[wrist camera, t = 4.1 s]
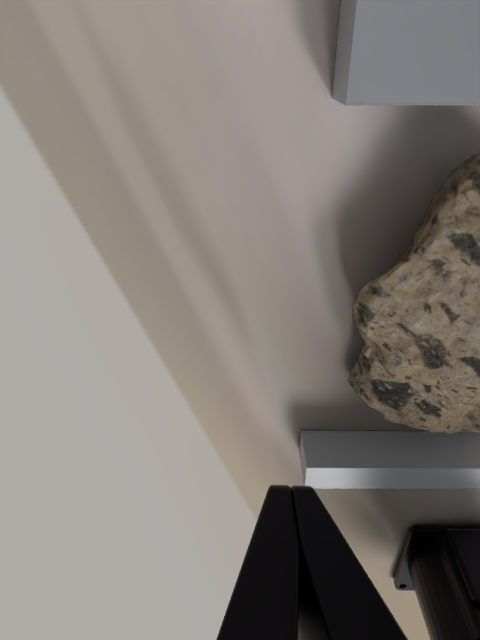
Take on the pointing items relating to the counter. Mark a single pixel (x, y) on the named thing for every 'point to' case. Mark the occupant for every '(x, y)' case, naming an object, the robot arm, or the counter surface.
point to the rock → (427, 318)
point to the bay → (401, 89)
